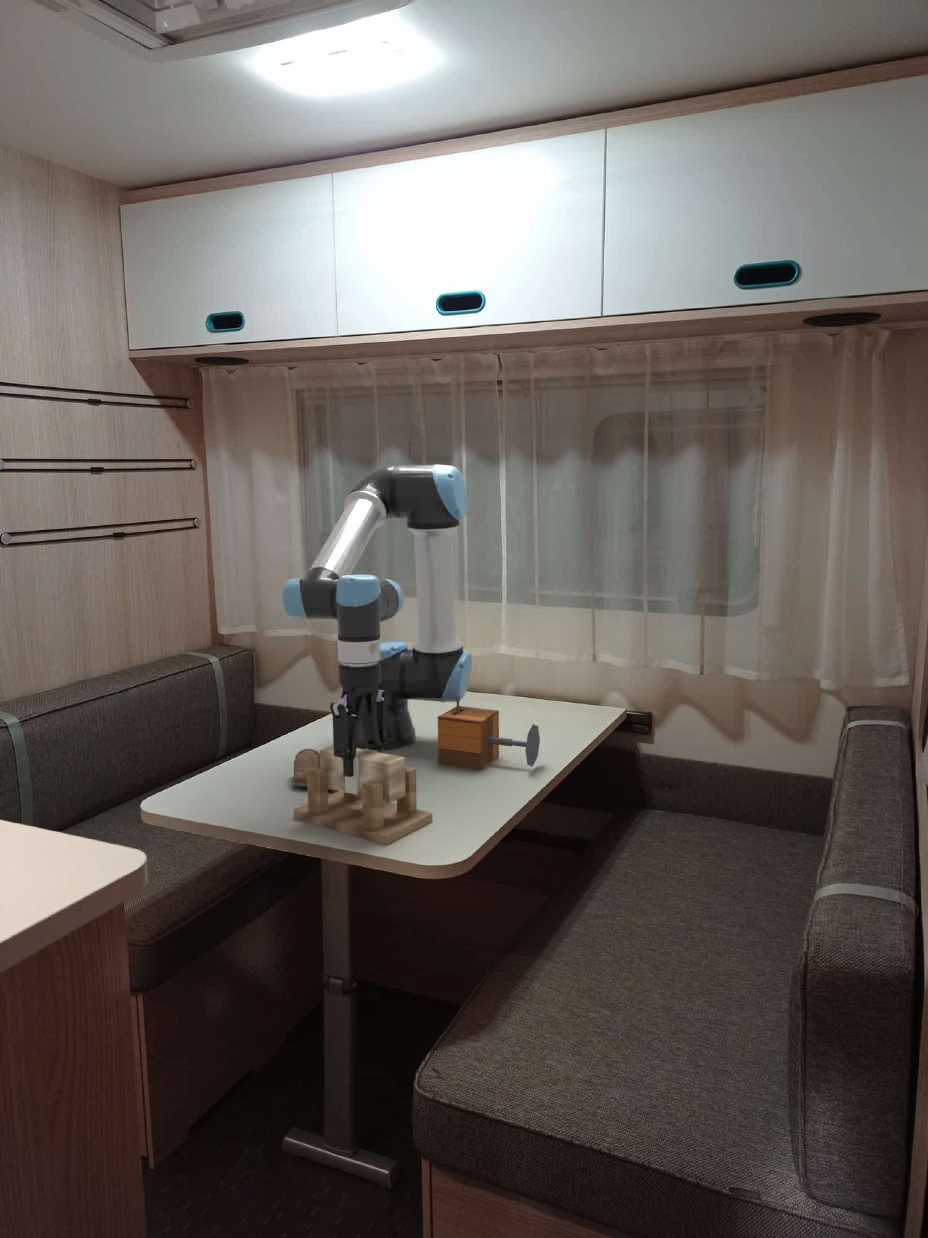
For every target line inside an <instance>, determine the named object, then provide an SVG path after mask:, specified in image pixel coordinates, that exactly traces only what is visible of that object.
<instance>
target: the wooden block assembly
mask: <svg viewBox="0 0 928 1238" xmlns="http://www.w3.org/2000/svg"><path fill="white" fill-rule="evenodd" d="M307 781H308V788H307V803H306V804H305V805H302V806H300V807H298V808H296V809H295V808H294V809H293V818H294V819H297V820H300V821H304V822H307V823H310V824H313V825H317V826H320V827H321V826H322V827H324V828H328V829H331V830H334V831H338V832H341V833H345V834H348V835H352V836H355V837H359V838H362V839H366V840H369V841H372V842H375V843H378V844H382V845H386V846H388V845H389V844H391V843H393V842H395V841H397V840H398V839H401V838H403V837H405V836H407V835H408V834H411V833H413V832H414V831H416V830H418V829H420V828H422V827H424V826H426V825H428V824H429V823H432V822H433V812H429V811H425V810H421V809H417V807H418V806H417V805H418V804H417V803H418V802H417V800H418V799H417V768H414V767H409V766H405V796H403V797H401V798H399V799H397V800H396V803H394V802H391V803H388V802H384V801H383V783H379V782H375V781H370V780H369V781H366V782H364V783H362V796H358V795H354V794H350V793H345V792H341V791H338V792H332V794H329V793H328V792H329V791H328V786H327V770H325V769H321V768H317V767H314V768H311V769H308V770H307ZM328 794H329V795H328Z"/></svg>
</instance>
